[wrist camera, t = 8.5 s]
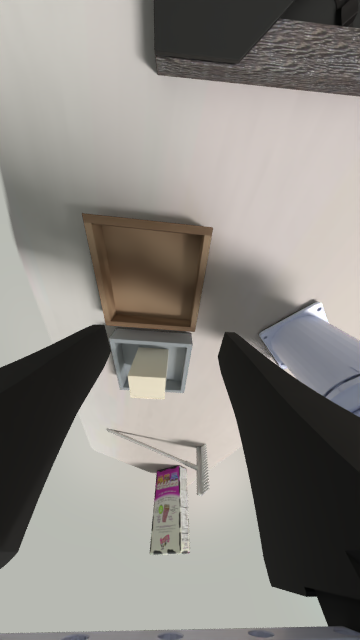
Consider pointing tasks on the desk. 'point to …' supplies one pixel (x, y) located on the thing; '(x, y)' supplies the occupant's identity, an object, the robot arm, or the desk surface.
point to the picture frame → (261, 42)
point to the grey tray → (130, 339)
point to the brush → (199, 467)
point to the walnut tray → (148, 270)
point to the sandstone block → (148, 373)
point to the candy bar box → (170, 513)
